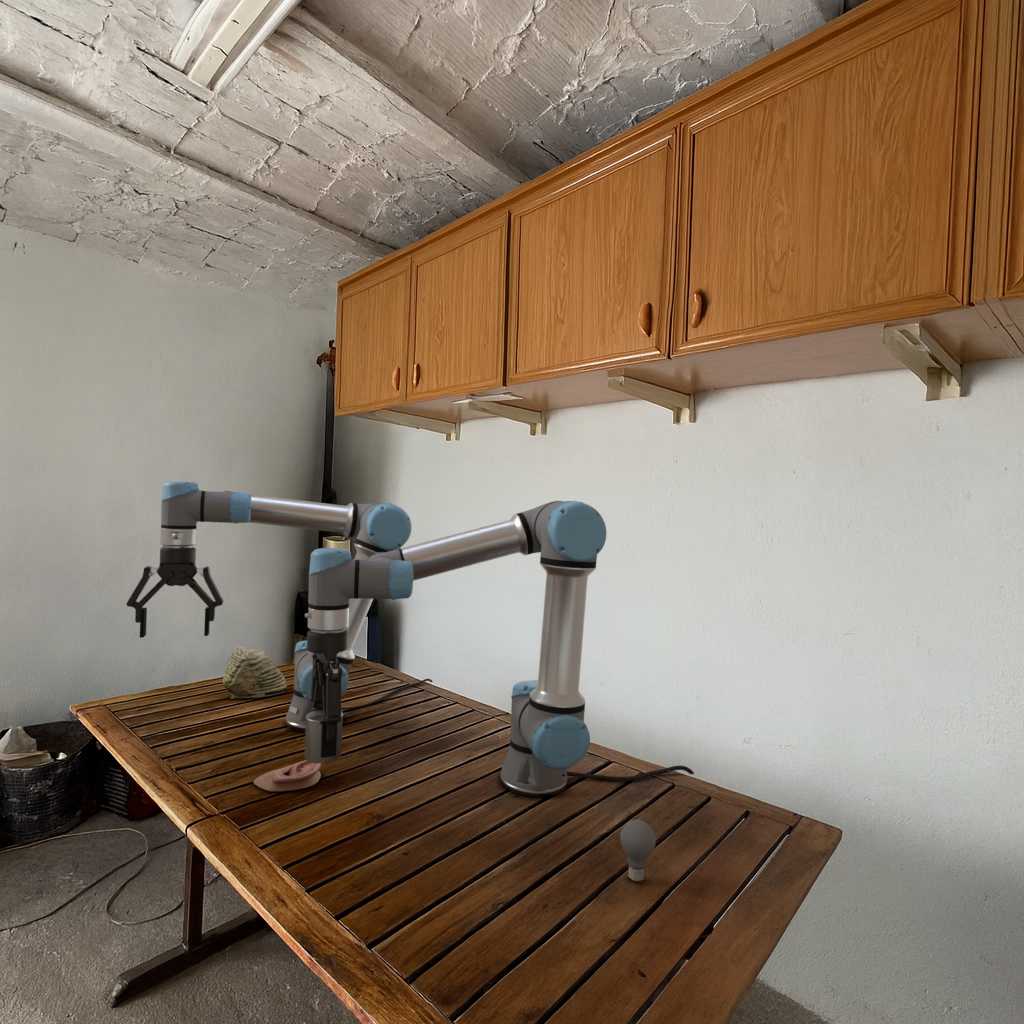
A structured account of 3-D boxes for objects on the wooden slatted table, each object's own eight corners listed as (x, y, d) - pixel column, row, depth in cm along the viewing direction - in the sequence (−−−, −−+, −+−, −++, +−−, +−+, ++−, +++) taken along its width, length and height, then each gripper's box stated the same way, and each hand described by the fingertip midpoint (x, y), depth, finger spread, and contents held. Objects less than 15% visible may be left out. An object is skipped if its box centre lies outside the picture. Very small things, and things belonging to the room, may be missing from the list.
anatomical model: (245, 769, 136) (276, 749, 147) (245, 787, 136) (275, 766, 147) (302, 777, 133) (328, 756, 144) (301, 796, 133) (328, 773, 144)
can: (321, 746, 126) (322, 707, 126) (348, 753, 123) (350, 713, 123) (296, 758, 120) (298, 717, 119) (324, 766, 117) (326, 723, 117)
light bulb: (614, 869, 112) (617, 812, 111) (647, 868, 112) (650, 813, 112) (623, 890, 106) (626, 830, 105) (658, 889, 106) (661, 830, 106)
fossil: (218, 695, 195) (220, 647, 195) (278, 685, 208) (279, 640, 207) (228, 703, 189) (230, 653, 188) (289, 692, 201) (290, 645, 201)
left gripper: (113, 546, 143) (110, 640, 143) (233, 548, 150) (230, 637, 151) (122, 544, 150) (119, 633, 150) (236, 546, 158) (233, 630, 158)
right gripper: (297, 620, 128) (293, 734, 128) (319, 642, 110) (314, 772, 111) (335, 618, 131) (331, 728, 132) (361, 638, 114) (357, 765, 115)
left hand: (175, 635), depth 150 cm, fingers open, 13 cm apart
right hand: (323, 748), depth 121 cm, fingers closed on can, 7 cm apart
